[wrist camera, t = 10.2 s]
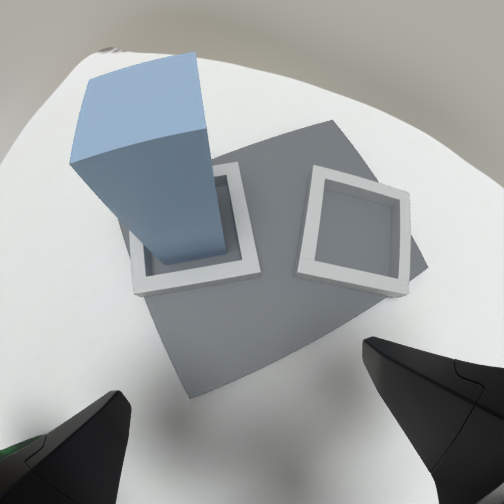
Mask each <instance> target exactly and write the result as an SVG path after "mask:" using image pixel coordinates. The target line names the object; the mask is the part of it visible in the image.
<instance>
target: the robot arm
mask: <svg viewBox="0 0 504 504" xmlns="http://www.w3.org/2000/svg"><path fill="white" fill-rule="evenodd" d="M362 358H363V362H364V364H365V366H366V368H367V370H368V372H369V375H370V377H371V379H372V381H373V383H374V385H375V387H376V389H377V391H378V393H379V394H380V396H381V397H382V399H383V400H384V402H385V403H386V405H387V407H388V408H389V410H390V411H391V413H392V414H393V416H394V417H395V419H396V420H397V422H398V423H399V425H400V426H401V428H402V429H403V431H404V433H405V434H406V436H407V437H408V439H409V440H410V442H411V443H412V445H413V447H414V448H415V450H416V451H417V453H418V454H419V456H420V458H421V459H422V461H423V462H424V464H425V466H426V467H427V469H428V470H429V472H430V473H431V475H432V477H433V479H434V481H435V484H436V488H437V494H438V499H439V504H504V368H500V367H492V366H485V365H479V364H474V363H470V362H465V361H461V360H457V359H454V360H453V359H452V358H448V357H444V356H440V355H437V354H433V353H429V352H426V351H422V350H419V349H415V348H411V347H408V346H404V345H401V344H398V343H394V342H391V341H387V340H384V339H381V338H377V337H370V338H367V339H364V340H363V347H362ZM130 419H131V405H130V403H129V402H128V400H127V399H126V398H125V396H124V395H123V393H122V392H121V391H119V390H115V391H110V392H108V393H107V394H105V395H104V396H102V397H101V398H100V399H98V400H97V401H95V402H94V403H92V404H91V405H89V406H88V407H86V408H85V409H84V410H82V411H81V412H79V413H78V414H76V415H75V416H73V417H72V418H70V419H69V420H67V421H66V422H64V423H63V424H61V425H60V426H58V427H57V428H55V429H54V430H52V431H51V432H49V433H48V434H47V435H44V436H42V437H41V438H39V439H38V440H36V441H35V442H33V443H31V444H30V445H28V446H26V447H24V448H23V449H21V450H19V451H17V452H15V453H13V454H11V455H9V456H7V457H5V458H4V459H2V460H0V504H116V499H117V493H118V487H119V482H120V476H121V471H122V466H123V461H124V457H125V452H126V447H127V443H128V437H129V428H130Z"/></svg>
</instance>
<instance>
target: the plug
mask: <svg viewBox="0 0 504 504" xmlns="http://www.w3.org/2000/svg"><path fill="white" fill-rule="evenodd" d="M69 164H70V165H71V167H72V168H73V169H74V170H75V171H76V172H77V174H78V175H79V176H80V177H81V178H82V179H83V180H84V182H85V183H86V184H87V185H88V186H89V187H90V188H91V189H92V191H93V192H94V193H95V194H96V195H97V196H98V197H99V198H100V199H101V200H102V202H103V203H104V204H105V205H106V206H107V207H108V208H109V209H110V210H111V211H112V212H113V213H114V214H115V216H116V217H117V218H118V219H119V220H120V221H121V222H122V223H123V224H124V225H125V226H126V227H127V228H128V229H129V230H130V231H131V232H132V233H133V234H134V235H135V236H136V237H137V238H138V239H139V240H140V241H141V242H142V243H143V244H144V245H145V246H146V247H147V248H148V249H149V250H150V251H151V252H152V253H153V254H154V255H155V256H156V257H157V258H158V259H159V260H160V261H161V262H162V263H163V264H164V265H165V266H166V265H171V264H176V263H182V262H187V261H192V260H198V259H203V258H209V257H214V256H219V255H225V254H227V253H226V247H225V241H224V235H223V229H222V223H221V217H220V211H219V205H218V199H217V193H216V187H215V180H214V174H213V168H212V161H211V155H210V148H209V141H208V134H207V127H206V121H205V115H204V108H203V101H202V95H201V88H200V81H199V74H198V67H197V60H196V53H195V52H191V53H185V54H180V55H174V56H170V57H165V58H161V59H156V60H152V61H148V62H144V63H140V64H137V65H133V66H130V67H126V68H123V69H120V70H116V71H113V72H110V73H107V74H104V75H101V76H98V77H96V78H93V79H90V80H89V82H88V85H87V88H86V92H85V95H84V99H83V102H82V106H81V110H80V114H79V118H78V122H77V127H76V131H75V136H74V141H73V146H72V151H71V157H70V163H69Z"/></svg>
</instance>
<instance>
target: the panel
mask: <svg viewBox="0 0 504 504" xmlns="http://www.w3.org/2000/svg"><path fill="white" fill-rule="evenodd" d="M211 161H212V168H213V174H214V180H215V187H216V193H217V199H218V205H219V211H220V217H221V223H222V229H223V235H224V241H225V247H226V253H227V254H225V255H219V256H214V257H209V258H203V259H198V260H192V261H187V262H182V263H176V264H171V265H166V266H165V265H164V264H163V263H162V262H161V261H160V260H159V259H158V258H157V257H156V256H155V255H154V254H153V253H152V252H151V251H150V250H149V249H148V248H147V247H146V246H145V245H144V244H143V243H142V242H141V241H140V240H139V239H138V238H137V237H136V236H135V235H134V234H133V233H132V232H131V231H130V230H129V229H128V228H127V227H126V226H125V225H124V224H123V223H122V222H121V221H120V220H119V219H118V221H119V224H120V228H121V231H122V234H123V237H124V241H125V244H126V247H127V250H128V253H129V256H130V259H131V270H132V282H133V292H134V294H135V295H138V296H140V297H144V298H145V301H146V304H147V306H148V309H149V311H150V314H151V316H152V319H153V321H154V323H155V326H156V328H157V331H158V333H159V335H160V338H161V340H162V342H163V344H164V347H165V349H166V351H167V353H168V355H169V358H170V360H171V362H172V364H173V366H174V368H175V370H176V372H177V374H178V377H179V379H180V381H181V383H182V385H183V387H184V389H185V390H186V392H187V394H188V396H189V398H190V399H192V398H194V397H197V396H199V395H202V394H204V393H207V392H209V391H212V390H214V389H216V388H219V387H221V386H223V385H226V384H228V383H230V382H233V381H235V380H237V379H239V378H242V377H244V376H246V375H248V374H250V373H252V372H255V371H257V370H259V369H261V368H263V367H265V366H267V365H269V364H271V363H273V362H275V361H277V360H279V359H281V358H283V357H285V356H287V355H289V354H291V353H293V352H295V351H297V350H299V349H300V348H302V347H304V346H306V345H308V344H310V343H311V342H313V341H315V340H317V339H319V338H321V337H322V336H324V335H326V334H328V333H329V332H331V331H333V330H335V329H336V328H338V327H340V326H341V325H343V324H345V323H346V322H348V321H350V320H351V319H353V318H355V317H356V316H358V315H359V314H361V313H363V312H364V311H366V310H367V309H369V308H371V307H372V306H374V305H375V304H377V303H378V302H380V301H381V300H383V299H384V298H386V297H387V296H392V297H397V298H399V297H402V296H406V295H408V291H409V281H411V280H412V279H413V278H415V277H416V276H418V275H419V274H420V273H422V272H423V271H424V270H426V269H427V268H428V266H427V264H426V262H425V260H424V258H423V256H422V254H421V252H420V250H419V248H418V246H417V245H416V243H415V241H414V239H413V237H412V235H411V220H410V195H409V193H408V192H406V191H403V190H400V189H397V188H394V187H390V186H387V185H384V184H381V183H379V182H378V180H377V179H376V177H375V176H374V174H373V173H372V171H371V170H370V168H369V167H368V166H367V164H366V163H365V161H364V160H363V159H362V157H361V156H360V154H359V153H358V152H357V150H356V149H355V148H354V146H353V145H352V144H351V142H350V141H349V140H348V139H347V137H346V136H345V135H344V133H343V132H342V131H341V130H340V128H339V127H338V126H337V125H336V123H335V122H334V121H333V120H330V121H326V122H323V123H319V124H315V125H312V126H308V127H305V128H302V129H298V130H295V131H292V132H288V133H285V134H282V135H279V136H276V137H273V138H270V139H267V140H264V141H261V142H258V143H255V144H252V145H249V146H246V147H244V148H241V149H238V150H235V151H233V152H230V153H227V154H225V155H222V156H219V157H217V158H214V159H212V160H211Z"/></svg>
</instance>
